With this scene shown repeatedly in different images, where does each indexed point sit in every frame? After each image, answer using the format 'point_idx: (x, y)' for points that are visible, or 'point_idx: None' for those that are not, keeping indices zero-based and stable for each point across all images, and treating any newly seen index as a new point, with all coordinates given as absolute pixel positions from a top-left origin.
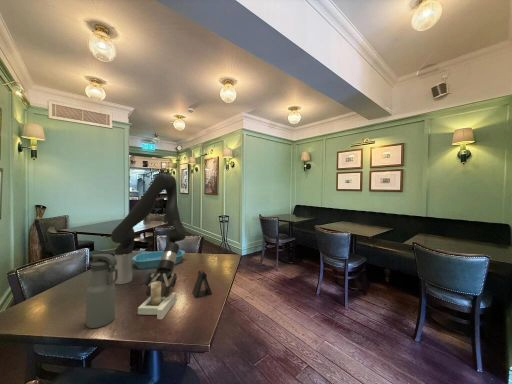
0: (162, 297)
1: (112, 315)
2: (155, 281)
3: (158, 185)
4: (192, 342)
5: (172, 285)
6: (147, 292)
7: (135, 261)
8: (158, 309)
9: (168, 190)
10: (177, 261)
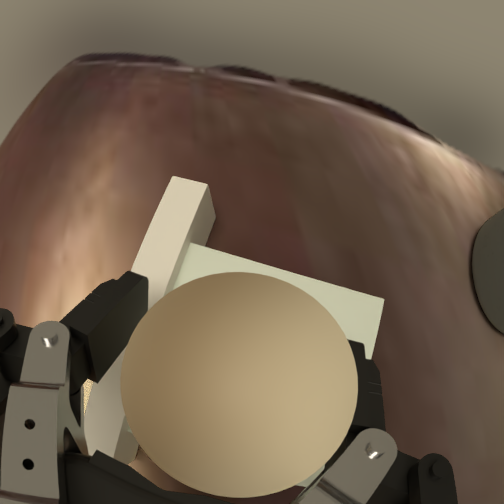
0: None
1: (489, 248)
2: (272, 490)
3: None
4: (92, 67)
5: (2, 317)
6: (360, 357)
7: None
8: (199, 188)
9: None
10: None
